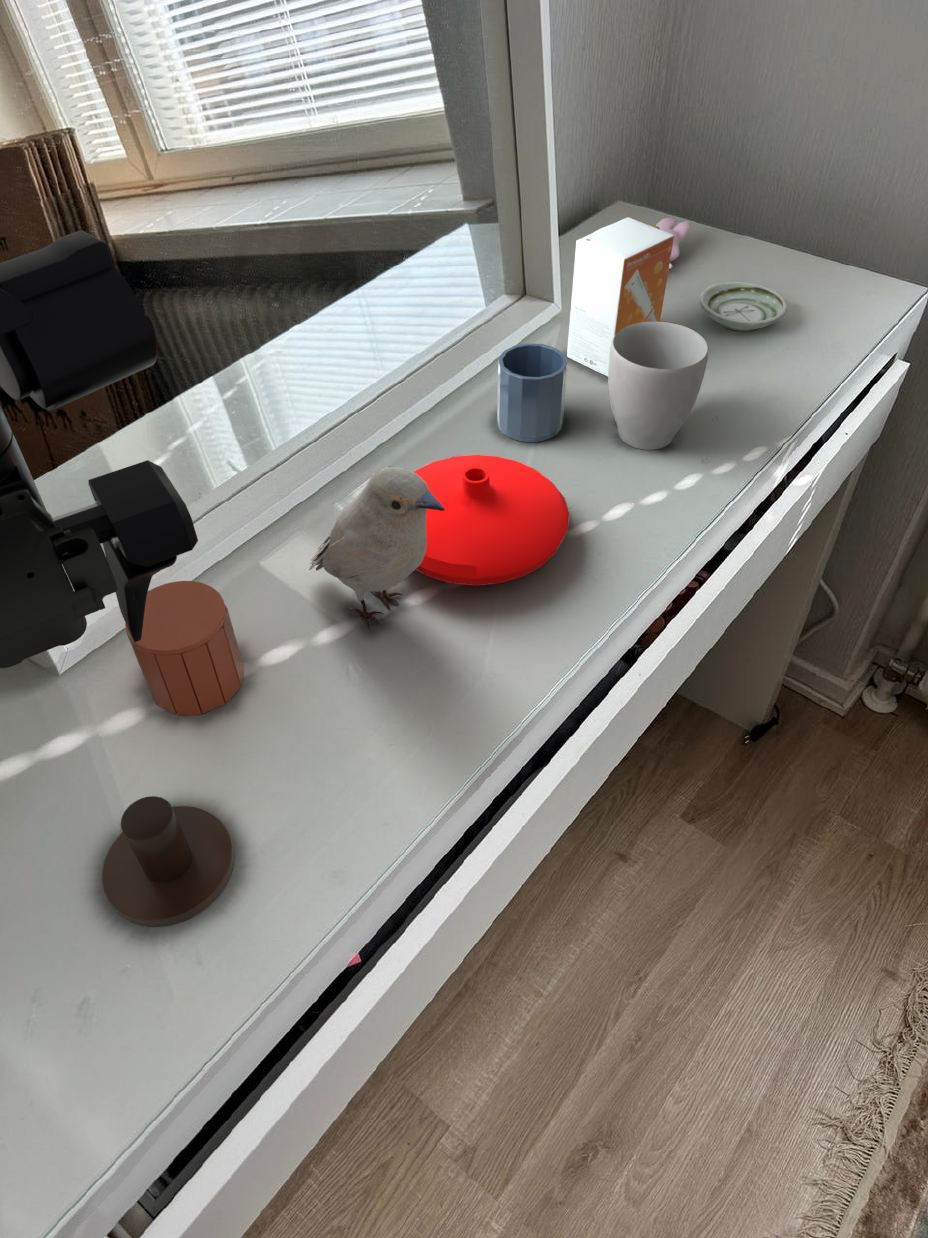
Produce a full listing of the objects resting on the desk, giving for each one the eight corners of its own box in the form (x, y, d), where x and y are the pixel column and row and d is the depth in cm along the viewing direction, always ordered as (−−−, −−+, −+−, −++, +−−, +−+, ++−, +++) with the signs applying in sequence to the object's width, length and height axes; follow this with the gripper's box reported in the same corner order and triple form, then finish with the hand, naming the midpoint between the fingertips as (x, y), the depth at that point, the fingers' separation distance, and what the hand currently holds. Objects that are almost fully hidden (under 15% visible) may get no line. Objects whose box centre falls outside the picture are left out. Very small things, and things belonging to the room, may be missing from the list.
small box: (609, 379, 97) (624, 259, 88) (565, 357, 100) (574, 238, 91) (657, 351, 101) (676, 233, 91) (612, 330, 104) (626, 214, 95)
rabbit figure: (655, 304, 111) (702, 238, 118) (659, 260, 106) (708, 193, 113) (608, 292, 113) (657, 228, 120) (609, 248, 108) (661, 184, 115)
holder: (128, 951, 54) (98, 905, 50) (89, 849, 59) (59, 799, 55) (254, 885, 57) (236, 836, 53) (207, 792, 62) (188, 741, 58)
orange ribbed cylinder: (169, 729, 66) (143, 665, 60) (138, 668, 70) (112, 603, 64) (257, 689, 68) (239, 624, 63) (223, 633, 72) (204, 568, 67)
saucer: (739, 350, 101) (743, 330, 99) (679, 314, 106) (682, 295, 105) (800, 325, 104) (806, 305, 103) (739, 292, 110) (743, 273, 108)
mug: (667, 471, 86) (683, 380, 79) (584, 441, 89) (593, 351, 82) (719, 411, 93) (739, 323, 86) (640, 385, 96) (653, 298, 89)
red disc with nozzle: (474, 462, 87) (474, 398, 82) (604, 539, 79) (613, 473, 74) (347, 541, 79) (338, 475, 74) (476, 634, 72) (476, 568, 66)
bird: (430, 664, 70) (422, 510, 59) (296, 595, 75) (266, 442, 64) (466, 625, 72) (465, 471, 62) (335, 561, 78) (312, 409, 67)
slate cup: (521, 450, 88) (524, 386, 83) (485, 417, 92) (485, 354, 87) (575, 429, 91) (581, 366, 86) (537, 398, 95) (540, 336, 90)
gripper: (-273, 634, 34) (-88, 847, 46) (201, 470, 41) (261, 692, 52) (-285, 480, 41) (-121, 700, 52) (125, 360, 48) (192, 578, 59)
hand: (58, 668), depth 54 cm, fingers open, 9 cm apart
